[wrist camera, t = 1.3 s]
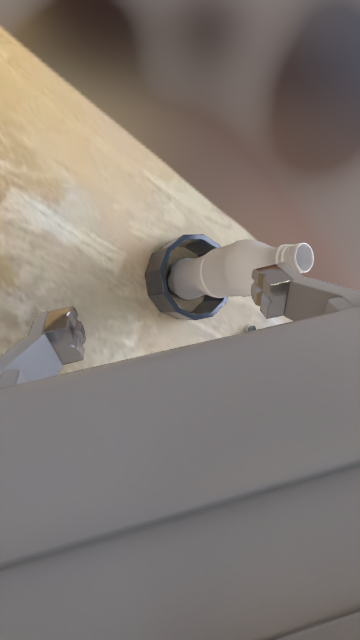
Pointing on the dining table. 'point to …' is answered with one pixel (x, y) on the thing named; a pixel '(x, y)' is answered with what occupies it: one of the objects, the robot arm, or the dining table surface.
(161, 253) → the dark grey faceted ring
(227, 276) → the water bottle
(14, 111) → the dining table surface
